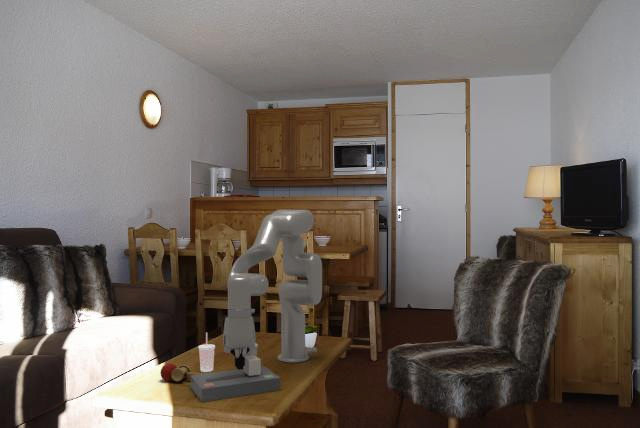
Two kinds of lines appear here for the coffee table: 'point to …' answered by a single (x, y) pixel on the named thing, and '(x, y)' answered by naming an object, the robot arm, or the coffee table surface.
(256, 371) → the breaker knob
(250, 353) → the smoothie
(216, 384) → the switch panel
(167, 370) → the kendama
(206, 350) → the beverage cup
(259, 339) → the coffee table surface
